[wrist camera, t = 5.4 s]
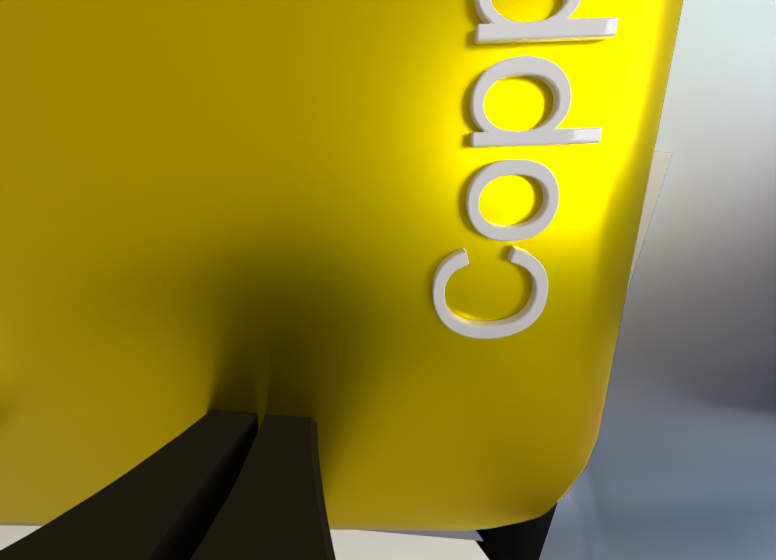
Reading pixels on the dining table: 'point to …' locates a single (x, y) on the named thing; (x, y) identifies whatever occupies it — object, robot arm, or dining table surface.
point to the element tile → (322, 239)
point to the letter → (451, 548)
